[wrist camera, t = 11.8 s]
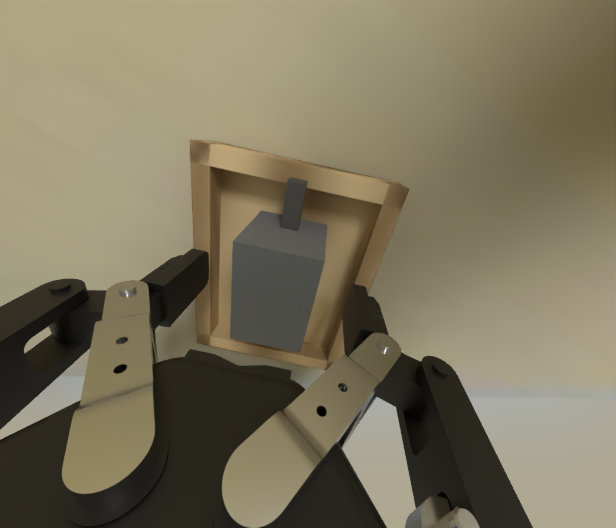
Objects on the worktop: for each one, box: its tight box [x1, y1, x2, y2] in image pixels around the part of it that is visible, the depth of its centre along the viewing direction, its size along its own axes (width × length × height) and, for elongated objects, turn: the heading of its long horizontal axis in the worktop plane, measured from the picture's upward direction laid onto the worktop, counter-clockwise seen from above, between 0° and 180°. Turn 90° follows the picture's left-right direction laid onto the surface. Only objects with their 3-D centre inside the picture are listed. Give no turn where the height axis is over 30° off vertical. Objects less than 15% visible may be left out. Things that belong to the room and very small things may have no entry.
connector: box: [230, 177, 327, 353], centre depth 13 cm, size 4×11×4 cm, turn 169°
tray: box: [190, 140, 409, 370], centre depth 15 cm, size 11×14×2 cm
